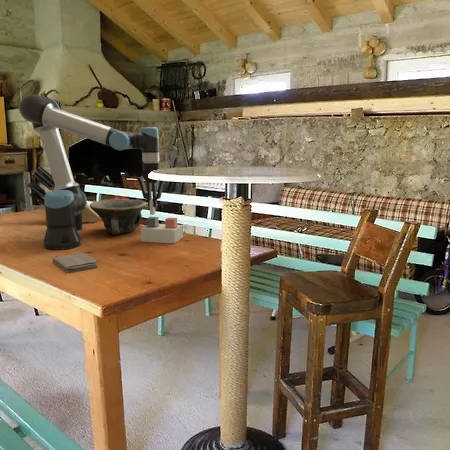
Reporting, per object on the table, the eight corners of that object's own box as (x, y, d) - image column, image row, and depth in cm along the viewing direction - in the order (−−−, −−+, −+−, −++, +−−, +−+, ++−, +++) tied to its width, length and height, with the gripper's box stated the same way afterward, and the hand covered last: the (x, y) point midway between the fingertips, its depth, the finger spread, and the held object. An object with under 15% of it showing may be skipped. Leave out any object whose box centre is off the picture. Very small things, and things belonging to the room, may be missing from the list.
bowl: (134, 239, 206) (132, 207, 203) (81, 237, 211) (79, 205, 208) (154, 228, 232) (153, 199, 229) (107, 226, 237) (105, 197, 234)
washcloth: (67, 274, 155) (67, 266, 155) (51, 263, 169) (50, 255, 169) (100, 268, 163) (99, 260, 162) (81, 258, 176) (81, 250, 176)
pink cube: (174, 229, 202) (174, 219, 201) (165, 228, 203) (165, 219, 202) (177, 227, 206) (177, 217, 205) (168, 227, 207) (168, 217, 206)
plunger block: (174, 243, 199) (174, 230, 198) (140, 241, 202) (140, 228, 201) (182, 237, 210) (182, 225, 209) (150, 235, 214) (150, 223, 213)
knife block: (32, 222, 246) (27, 165, 240) (99, 219, 256) (96, 164, 250) (29, 226, 235) (24, 167, 229) (99, 222, 245) (96, 166, 239)
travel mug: (79, 231, 224) (77, 191, 220) (64, 231, 224) (62, 191, 220) (84, 228, 231) (82, 189, 227) (70, 227, 231) (67, 189, 228)
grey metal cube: (155, 228, 204) (155, 218, 203) (146, 228, 205) (146, 218, 204) (158, 226, 208) (158, 217, 207) (150, 226, 209) (149, 216, 208)
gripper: (167, 162, 203) (168, 213, 207) (140, 161, 205) (142, 212, 210) (161, 163, 195) (163, 216, 200) (133, 162, 198) (136, 215, 203)
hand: (152, 214), depth 205 cm, fingers closed
